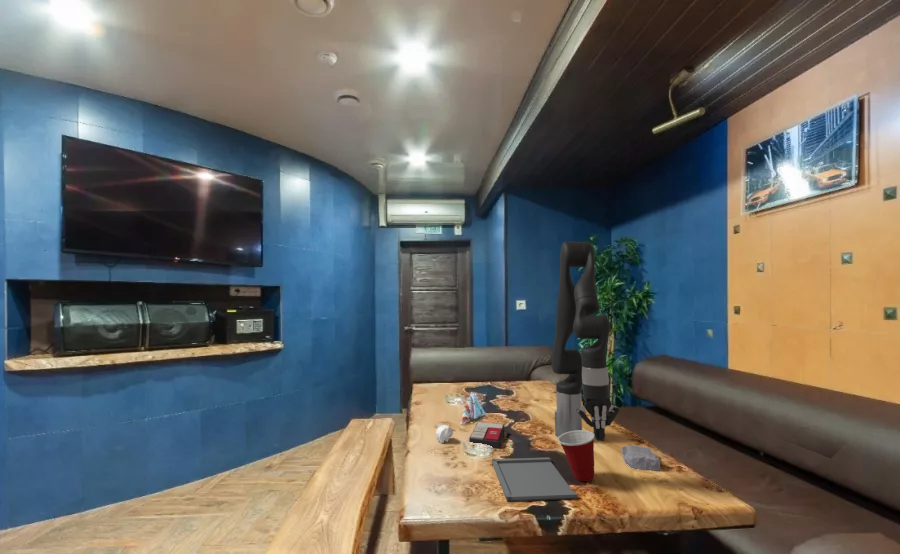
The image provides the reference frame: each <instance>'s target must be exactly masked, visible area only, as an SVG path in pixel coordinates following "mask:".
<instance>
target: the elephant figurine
mask: <svg viewBox="0 0 900 554" xmlns="http://www.w3.org/2000/svg"><path fill="white" fill-rule="evenodd" d="M434 434H435V437H436V440H437V442H438V443H440V444H445V443H448V442H449V439H450V438H451V437H452V436H453V435H454V432H453V428H452V427H451V426H449V425H447V424H444V423H443V422H440V423H439V424H438V426H437V429H436V431H435V433H434Z"/></svg>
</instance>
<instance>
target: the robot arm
mask: <svg viewBox="0 0 900 554" xmlns="http://www.w3.org/2000/svg"><path fill="white" fill-rule="evenodd" d="M559 257H560V258H559V284H558V285H559V288H558V296H557V305H556V319H555V320H556V321H555V333H554V339H553V340H554V341H553V346H552V351H551V352H552V353H551V359H550V360H551V370H552V371H553V372H554V373H555V374H558V375H567V377H566V378H564V379H563V380H560V381H558V382H557V383H556V385H555V389H556V391H555V393H556V396H555V398H556V409H554V435H555V436H557V438H558V437H559V436H560V435H562V434H564V433H566V432H570V431H576V430H583V422H585V424H586V425H588V426H589V427H590V428H593V433H594V439H596V440H597V441H598V442H604V441H605V440H604V439H606V431H605V430H606V429H605V428H606V427H609V426H611V424H612V423H613V421H614V419H616V417H617V415H618V413H619V412H620V409H619V408H618V407H616V406H614V405H613V404H612V401H611V392H610V378H609V372H608V367H607V344H608V340H609V335H610V331H611V323H610V321H609V319H608V318H607V317H606V316H605V315H602V314H601V315H599V314H597V315H594V314H596V313H598V312H599V310H600V302H599V298H598V293H597V288H596V266H595V251H594V247H593V245H592V244H591V243H590V242H587V241H586V242H585V241H564V242H562V244H561V247H560V256H559ZM570 268H584V271H583V273H582V274H581V277H580V278H579V279H578V281H577V283H576V284H574V282H573V280H572V276H571V271H570V270H571V269H570ZM573 333H574V336H575V337H577V338H578V339H580V340H588V339H589V340H590V339H591V340H594V339H595V340H597V341H596V342H595V343H594V344H592V345H589V346H584V347H582V348H581V350H580V351H579V350H578V349H566V347H567V343H568V340H569V339H570V337H571V336H572V334H573ZM582 395H583V400H582ZM587 413H588V414H589V417H590V418H589V417H588V415H587Z"/></svg>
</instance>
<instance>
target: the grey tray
mask: <svg viewBox="0 0 900 554" xmlns="http://www.w3.org/2000/svg"><path fill="white" fill-rule="evenodd" d="M551 461H552V459H551V458H550V457H527V458H525V457H523V458H521V457H520V458H519V457H518V458H492V459H491V463H492V466H493V468H494V471H495V474H496V476H497V479H498V481H499V484H500V486H501V489H502V492H503V494H504V498H505V499H506V502H510V503H511V502H533V501H534V502H536V501H559V500H561V501H563V500H579V499H578V498H579V497H578V493H577V491H573V489H572V488H571V487H570V485H569V484H568V482H567V481H566V480H565V478H564V477H563V476H562V474H561V473H560V472H559V471H558V469H557V468H556V467H555V465H554V464H553V462H551Z"/></svg>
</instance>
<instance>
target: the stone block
mask: <svg viewBox="0 0 900 554" xmlns="http://www.w3.org/2000/svg"><path fill="white" fill-rule="evenodd" d="M620 450H621V455H622V459H623V462H625V464H626V465H627V464H628V465H629V466H630V467H631V468H630V467H629V466H628V465H627V466H628V467H629V468H630V469H632V468H634V469H633V470H637V469H639V471H650V470H651V471H652V472H654V471H655V472H660V471H661V462H660V458H659V457H658V455H657V454H656V453H654V452H653V451H652V449H651V448H650V447H648V446H647V447H646V446H639V445H632V444H631V445H625V446H622V447H621V449H620Z"/></svg>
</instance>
